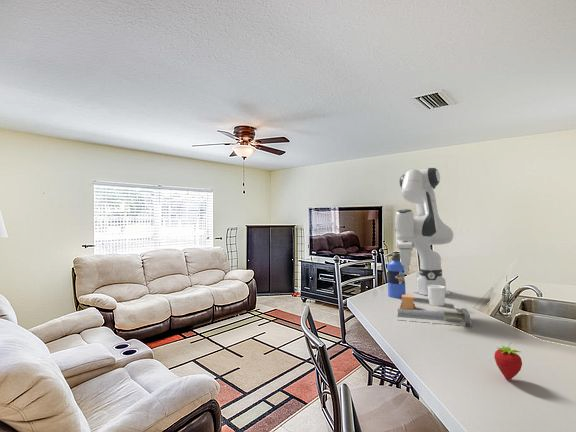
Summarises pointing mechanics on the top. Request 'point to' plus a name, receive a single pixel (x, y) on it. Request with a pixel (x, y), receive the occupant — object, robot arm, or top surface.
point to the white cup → (436, 295)
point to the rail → (437, 316)
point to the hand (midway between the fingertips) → (406, 272)
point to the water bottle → (396, 277)
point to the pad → (409, 309)
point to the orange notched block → (407, 302)
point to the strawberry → (508, 362)
